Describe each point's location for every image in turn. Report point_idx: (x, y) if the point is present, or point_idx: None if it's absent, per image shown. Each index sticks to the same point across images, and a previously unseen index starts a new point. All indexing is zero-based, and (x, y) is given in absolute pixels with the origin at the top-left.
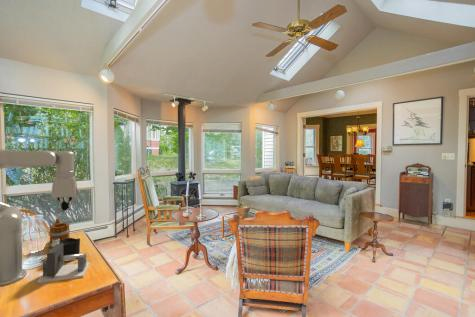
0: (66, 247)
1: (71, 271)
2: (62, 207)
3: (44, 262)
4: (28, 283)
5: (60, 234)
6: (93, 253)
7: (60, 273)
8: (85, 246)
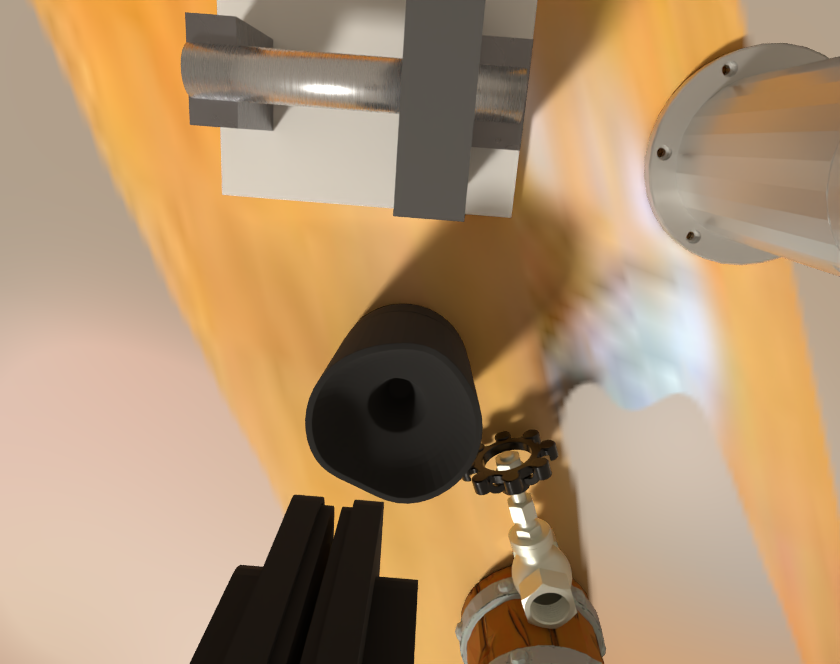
0: (405, 335)
1: None
2: (369, 557)
3: (521, 44)
4: (595, 12)
5: (525, 654)
6: (249, 387)
7: None
8: None
